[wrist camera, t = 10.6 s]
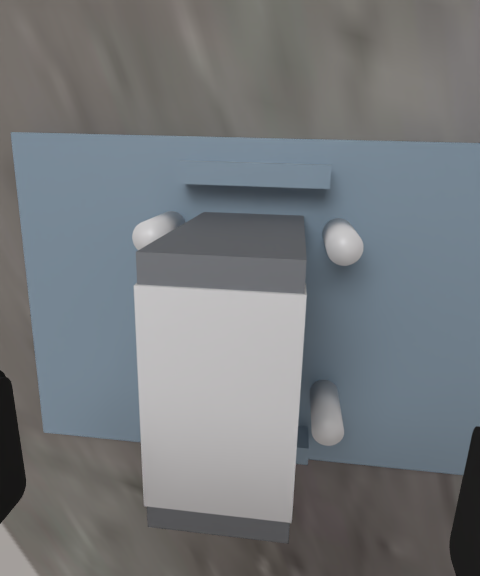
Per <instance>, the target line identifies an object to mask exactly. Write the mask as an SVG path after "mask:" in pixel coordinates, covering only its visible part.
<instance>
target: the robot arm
mask: <svg viewBox="0 0 480 576" xmlns="http://www.w3.org/2000/svg"><path fill="white" fill-rule="evenodd" d="M25 487H26V477H25V470H24V463H23V457H22V450H21V443H20V437H19V430H18V423H17V416H16V410H15V403H14V396H13V389H12V384H11V381H10V380H9V379H8V378H7V377H6V376H5V374H4V373H3V372H2V371H1V370H0V524H1V522H2V521H3V520H4V519H5V517H6V516H7V515H8V514H9V513H10V511H11V510H12V509H13V508H14V506H15V505H16V504H17V503H18V502H19V500H20V499H21V497H22V495H23V493H24V491H25ZM450 555H451V560H452V564H453V567H454V570H455V573H456V576H480V426H476V427H475V428H474V430H473V433H472V437H471V442H470V446H469V451H468V456H467V461H466V465H465V470H464V475H463V480H462V484H461V489H460V494H459V499H458V503H457V508H456V513H455V518H454V522H453V527H452V532H451V537H450Z"/></svg>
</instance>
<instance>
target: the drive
mask: <svg viewBox="0 0 480 576" xmlns="http://www.w3.org/2000/svg"><path fill="white" fill-rule="evenodd" d="M306 263H307V258H306V242H305V227H304V216H301V215H275V214H248V213H221V212H203V213H201V214H199V215H198V216H196V217H194V218H193V219H191V220H189V221H187V222H186V223H184V224H182V225H181V226H179V227H177V228H175V229H174V230H172V231H170V232H169V233H167V234H165V235H164V236H162V237H160V238H158V239H157V240H155V241H153V242H152V243H150V244H148V245H147V246H145V247H143V248H141V249H140V250H138V251H136V270H137V283H136V284H135V285H134V303H135V325H136V346H137V368H138V390H139V411H140V433H141V455H142V476H143V498H144V506H147V520H148V527H154V528H162V529H171V530H179V531H187V532H196V533H204V534H212V535H221V536H229V537H237V538H246V539H254V540H263V541H271V542H279V543H288V542H289V527H290V523H292V511H293V496H294V481H295V466H296V450H297V435H298V420H299V405H300V390H301V375H302V359H303V344H304V329H305V314H306V299H307V291H306V284H305V278H306Z"/></svg>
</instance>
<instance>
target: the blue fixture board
mask: <svg viewBox="0 0 480 576" xmlns="http://www.w3.org/2000/svg"><path fill="white" fill-rule="evenodd" d="M11 140H12V149H13V158H14V167H15V176H16V185H17V194H18V203H19V212H20V221H21V231H22V240H23V249H24V258H25V267H26V276H27V285H28V294H29V303H30V312H31V321H32V330H33V339H34V349H35V358H36V367H37V376H38V385H39V394H40V403H41V412H42V421H43V430H44V432H45V433H55V434H65V435H74V436H84V437H94V438H104V439H114V440H123V441H133V442H141V433H140V411H139V390H138V368H137V346H136V325H135V303H134V285H135V284H136V283H137V270H136V251H138V250H140V249H141V248H143V247H145V246H147V245H148V244H150V243H152V242H153V241H155V240H157V239H158V238H160V237H162V236H164V235H165V234H167V233H169V232H170V231H172V230H174V229H175V228H177V227H179V226H181V225H182V224H184V223H186V222H187V221H189V220H191V219H193V218H194V217H196V216H198V215H199V214H201V213H203V212H221V213H248V214H275V215H301V216H304V227H305V242H306V258H307V263H306V278H305V284H306V291H307V299H306V314H305V329H304V344H303V359H302V375H301V390H300V405H299V420H298V435H297V450H296V464H302V465H308V459H310V460H319V461H329V462H339V463H349V464H359V465H368V466H378V467H388V468H398V469H408V470H417V471H427V472H437V473H447V474H457V475H464V470H465V465H466V461H467V456H468V451H469V446H470V442H471V437H472V433H473V430H474V428H475V427H476V426H480V143H450V142H408V141H365V140H322V139H279V138H236V137H193V136H150V135H107V134H64V133H21V132H11Z"/></svg>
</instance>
